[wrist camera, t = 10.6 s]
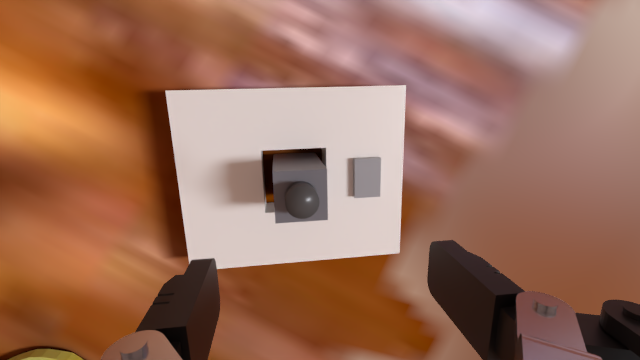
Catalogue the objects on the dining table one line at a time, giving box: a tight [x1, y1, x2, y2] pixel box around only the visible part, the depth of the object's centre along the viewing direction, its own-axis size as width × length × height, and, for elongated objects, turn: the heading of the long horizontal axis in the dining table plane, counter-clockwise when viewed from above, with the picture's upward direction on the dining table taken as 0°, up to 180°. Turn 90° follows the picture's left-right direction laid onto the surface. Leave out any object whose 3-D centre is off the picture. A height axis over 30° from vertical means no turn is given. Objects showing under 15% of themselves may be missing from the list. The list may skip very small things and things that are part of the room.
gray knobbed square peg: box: [272, 152, 328, 224], centre depth 27 cm, size 4×4×10 cm
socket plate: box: [165, 85, 406, 269], centre depth 30 cm, size 20×16×4 cm
